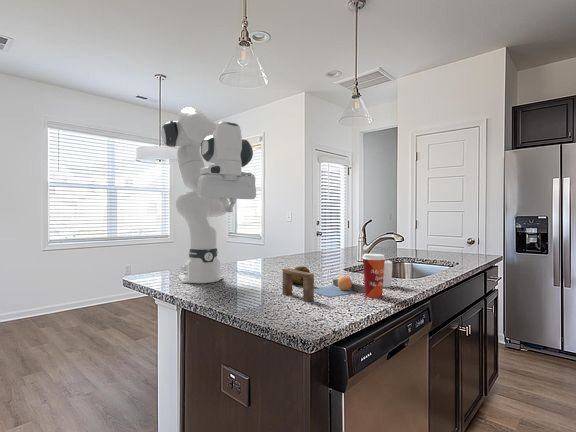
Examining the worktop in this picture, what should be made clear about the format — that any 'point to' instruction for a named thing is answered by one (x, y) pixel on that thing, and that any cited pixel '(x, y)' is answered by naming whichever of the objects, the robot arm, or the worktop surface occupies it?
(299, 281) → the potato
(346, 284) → the ball
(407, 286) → the worktop surface
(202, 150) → the robot arm
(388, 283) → the white cup
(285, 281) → the bridge
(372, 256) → the coffee cup
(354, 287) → the grey long bar
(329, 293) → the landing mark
